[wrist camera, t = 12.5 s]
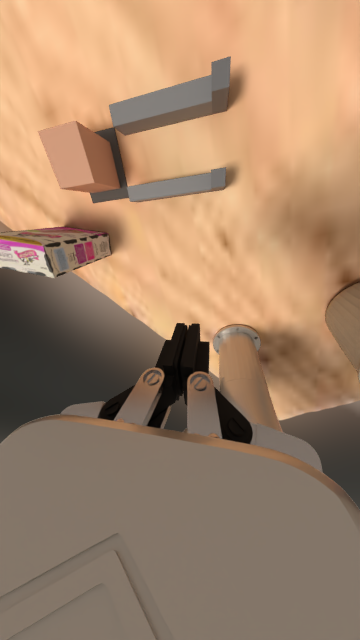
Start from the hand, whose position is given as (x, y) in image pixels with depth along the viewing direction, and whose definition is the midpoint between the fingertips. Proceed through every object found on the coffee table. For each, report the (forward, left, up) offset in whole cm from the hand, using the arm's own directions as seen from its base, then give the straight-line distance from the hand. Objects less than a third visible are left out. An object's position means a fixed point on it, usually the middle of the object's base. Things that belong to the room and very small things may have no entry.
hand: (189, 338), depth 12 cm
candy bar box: (+5, +27, -27) cm, 39 cm away
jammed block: (+16, +19, -27) cm, 37 cm away
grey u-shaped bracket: (+16, +5, -27) cm, 32 cm away
